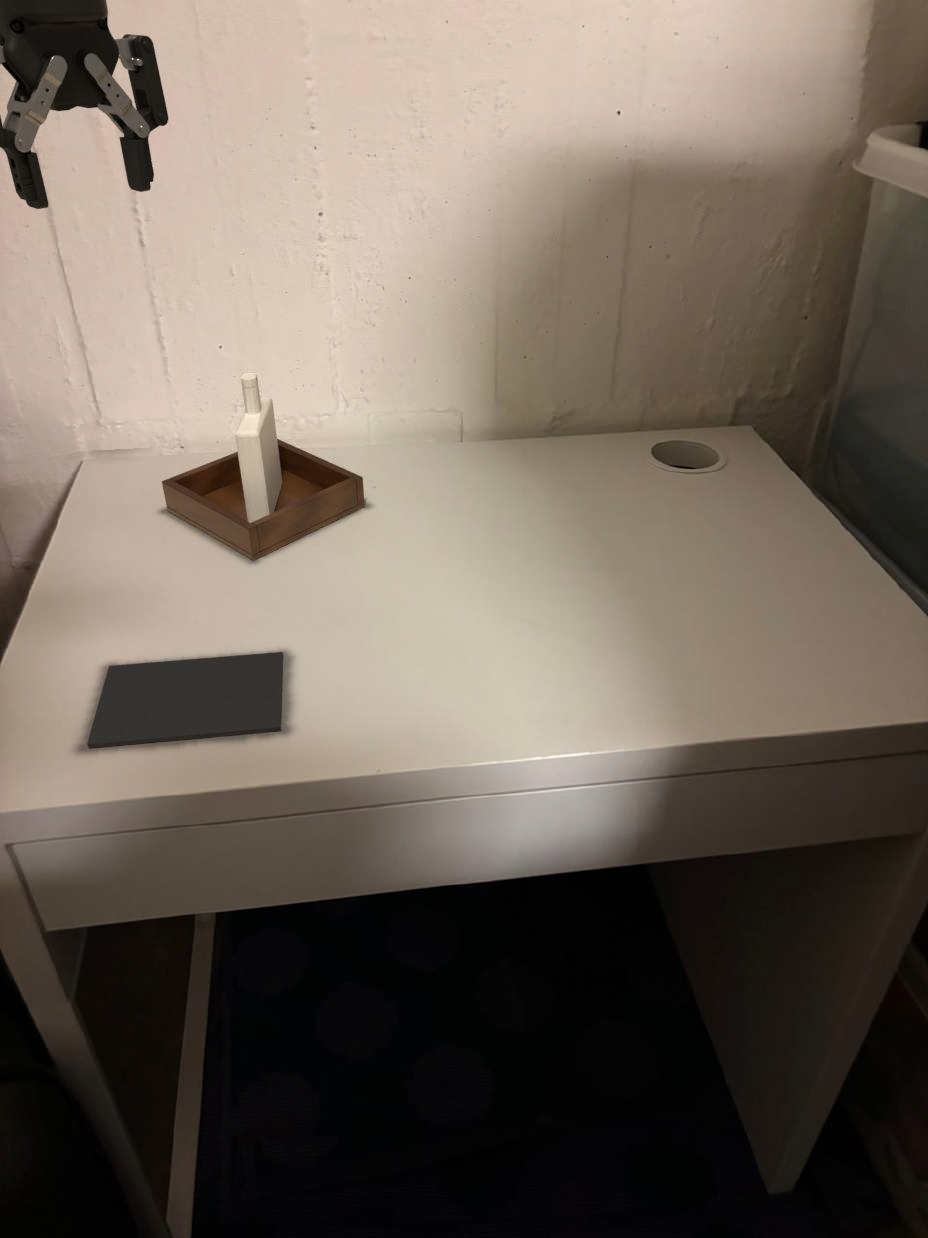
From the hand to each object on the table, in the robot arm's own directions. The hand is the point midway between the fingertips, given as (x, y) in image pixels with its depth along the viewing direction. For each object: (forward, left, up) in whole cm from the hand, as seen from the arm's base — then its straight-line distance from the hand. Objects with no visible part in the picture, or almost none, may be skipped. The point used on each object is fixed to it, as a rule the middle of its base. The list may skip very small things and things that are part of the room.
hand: (90, 198), depth 71 cm
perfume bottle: (+6, -10, -25) cm, 28 cm away
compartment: (+6, -10, -26) cm, 28 cm away
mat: (-14, -27, -26) cm, 40 cm away
